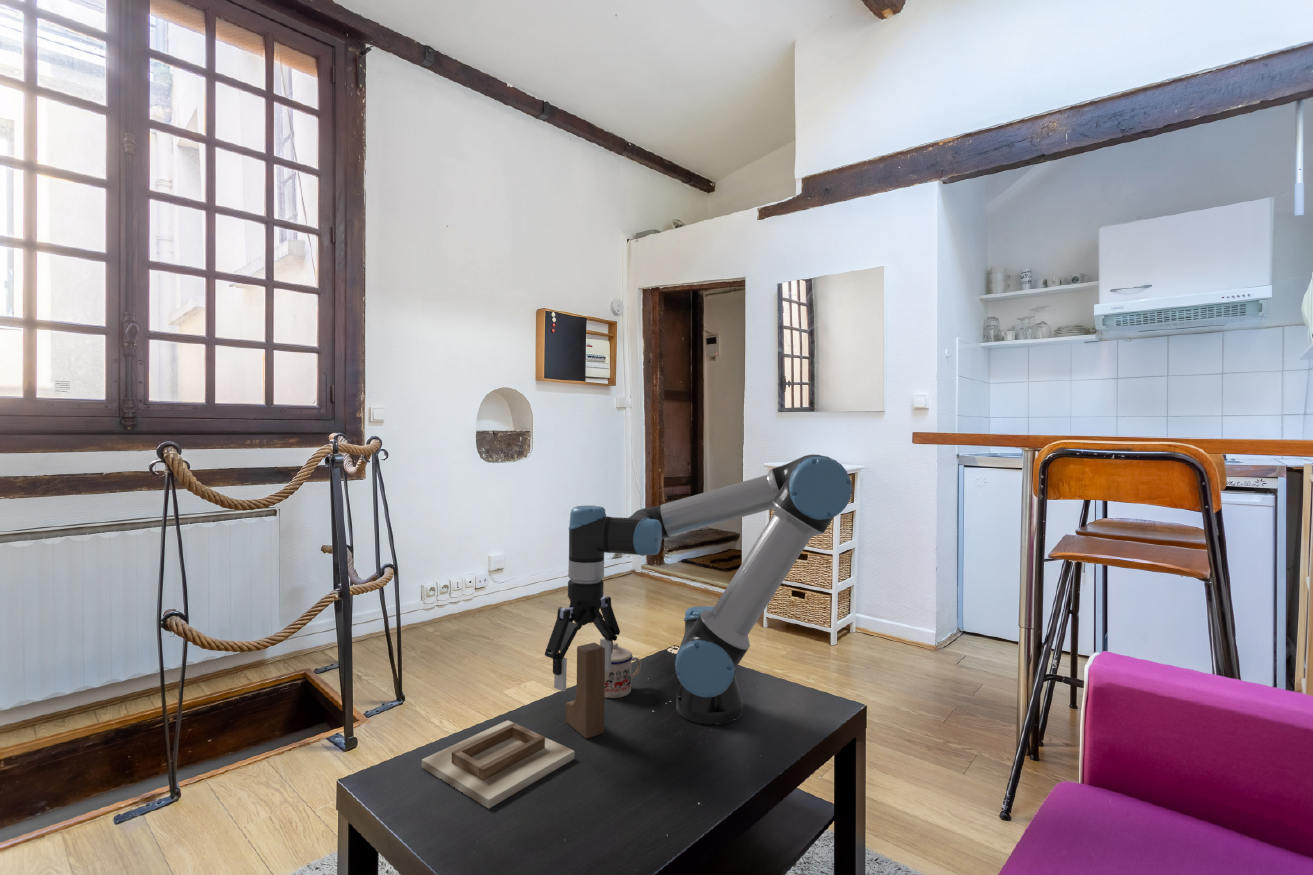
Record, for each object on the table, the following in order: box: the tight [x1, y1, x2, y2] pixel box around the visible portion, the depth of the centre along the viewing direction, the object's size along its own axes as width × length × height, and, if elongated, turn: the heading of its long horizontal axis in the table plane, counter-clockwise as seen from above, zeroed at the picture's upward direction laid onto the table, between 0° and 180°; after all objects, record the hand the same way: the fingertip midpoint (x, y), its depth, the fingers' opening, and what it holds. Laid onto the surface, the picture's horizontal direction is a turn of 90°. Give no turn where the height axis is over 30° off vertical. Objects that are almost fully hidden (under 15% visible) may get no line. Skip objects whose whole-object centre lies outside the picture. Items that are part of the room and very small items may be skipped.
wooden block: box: [565, 642, 606, 739], centre depth 130 cm, size 9×4×18 cm, turn 36°
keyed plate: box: [421, 719, 576, 810], centre depth 116 cm, size 20×20×4 cm
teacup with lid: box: [605, 641, 642, 699], centre depth 150 cm, size 12×9×12 cm
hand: (583, 679), depth 130 cm, fingers open, 13 cm apart
